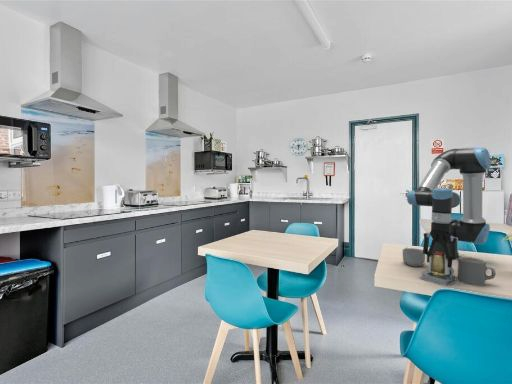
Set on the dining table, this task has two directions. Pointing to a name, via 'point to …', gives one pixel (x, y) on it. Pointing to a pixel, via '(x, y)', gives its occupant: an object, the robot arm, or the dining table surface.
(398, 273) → the dining table surface
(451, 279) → the flange seat
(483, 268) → the coffee mug
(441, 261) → the cylinder
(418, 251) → the teacup
